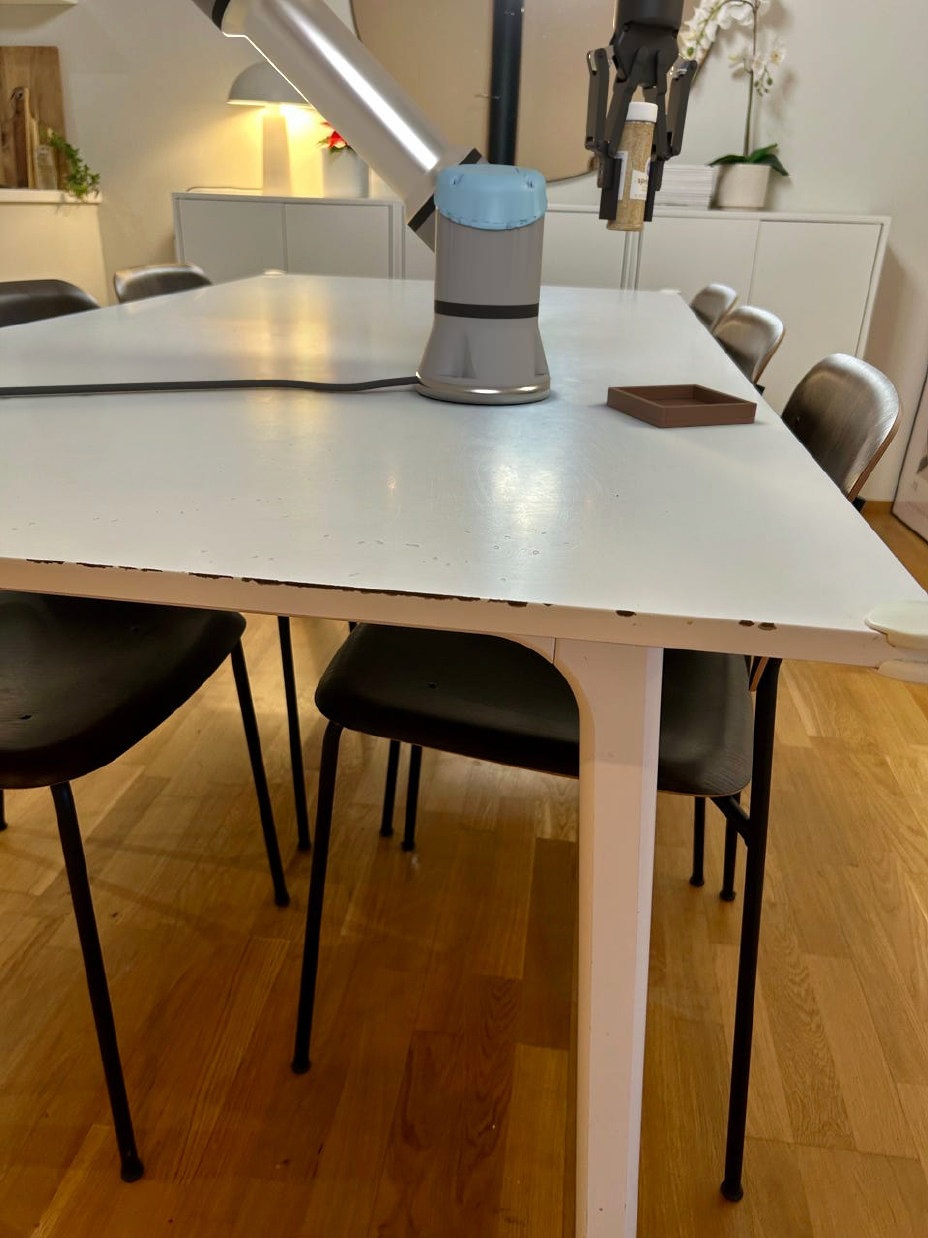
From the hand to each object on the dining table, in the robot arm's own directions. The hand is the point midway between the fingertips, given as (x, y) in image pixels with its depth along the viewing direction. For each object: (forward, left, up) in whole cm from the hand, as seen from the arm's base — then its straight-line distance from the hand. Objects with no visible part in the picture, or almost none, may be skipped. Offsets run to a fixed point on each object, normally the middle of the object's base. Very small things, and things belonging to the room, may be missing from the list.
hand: (625, 220), depth 108 cm
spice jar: (0, 0, -1) cm, 1 cm away
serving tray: (-4, -22, -18) cm, 29 cm away
